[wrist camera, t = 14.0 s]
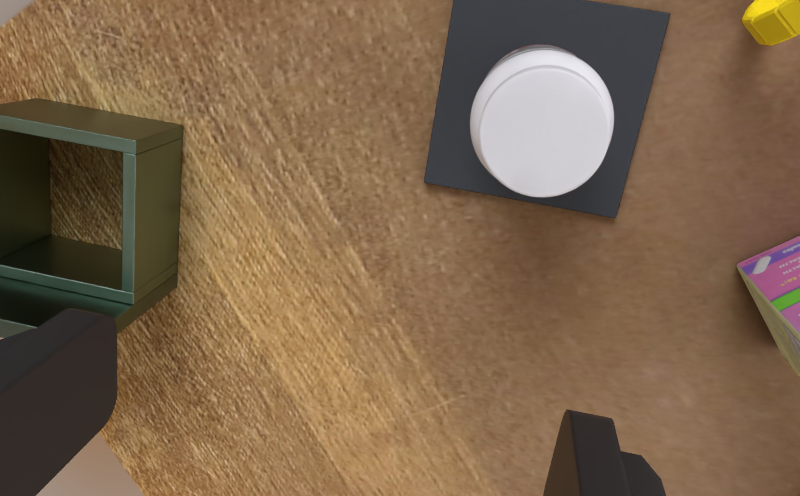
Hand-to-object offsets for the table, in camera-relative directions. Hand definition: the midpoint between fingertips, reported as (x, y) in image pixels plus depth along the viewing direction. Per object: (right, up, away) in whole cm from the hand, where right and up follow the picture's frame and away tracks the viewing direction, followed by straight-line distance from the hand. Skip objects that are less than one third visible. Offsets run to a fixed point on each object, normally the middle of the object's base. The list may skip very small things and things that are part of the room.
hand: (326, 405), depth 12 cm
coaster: (+8, +10, +22) cm, 26 cm away
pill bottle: (+8, +10, +22) cm, 26 cm away
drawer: (-15, +6, +28) cm, 32 cm away
